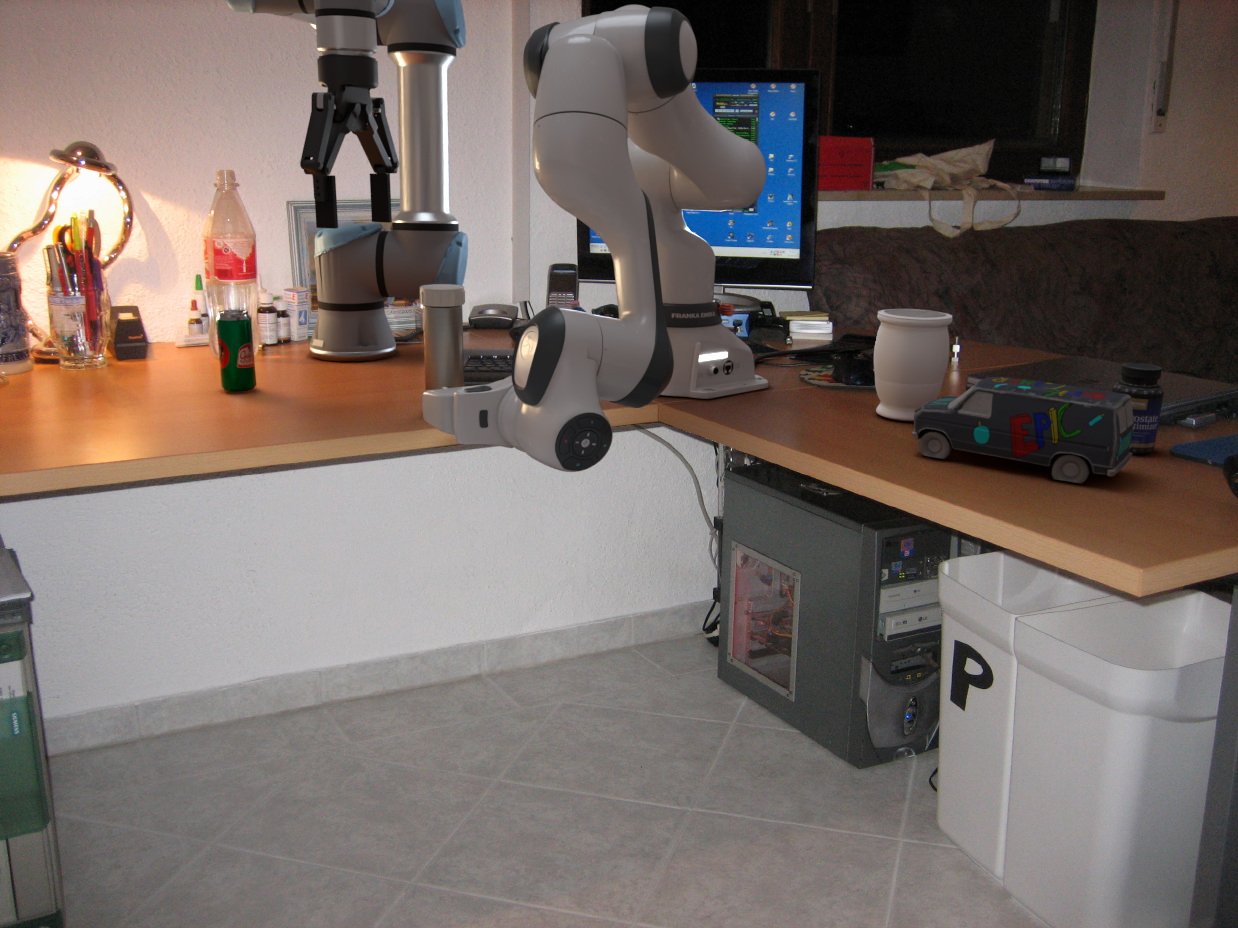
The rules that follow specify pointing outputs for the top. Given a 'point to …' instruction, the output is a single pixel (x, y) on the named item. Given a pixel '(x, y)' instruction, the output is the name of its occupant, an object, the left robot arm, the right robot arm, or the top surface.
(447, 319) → the metal thermos bottle
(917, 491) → the top surface
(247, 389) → the soda can
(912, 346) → the jar
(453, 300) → the lid
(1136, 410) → the pill bottle
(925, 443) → the toy van
